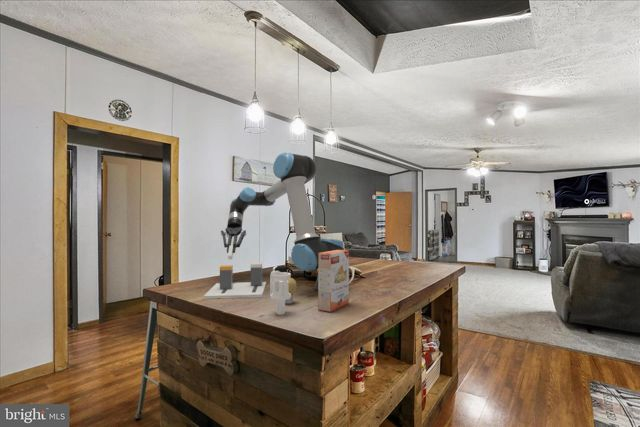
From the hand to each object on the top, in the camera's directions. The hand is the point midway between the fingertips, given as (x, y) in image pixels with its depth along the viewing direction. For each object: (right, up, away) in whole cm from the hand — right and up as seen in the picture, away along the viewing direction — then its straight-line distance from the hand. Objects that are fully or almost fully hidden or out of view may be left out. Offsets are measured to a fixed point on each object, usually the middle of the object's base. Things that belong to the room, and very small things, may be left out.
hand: (230, 257), depth 161 cm
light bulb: (+31, -14, -31) cm, 46 cm away
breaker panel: (+6, -14, -10) cm, 18 cm away
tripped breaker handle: (+1, -12, -10) cm, 16 cm away
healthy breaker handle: (+13, -12, -3) cm, 19 cm away
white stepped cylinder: (+30, -14, -44) cm, 55 cm away
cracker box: (+49, -14, -37) cm, 63 cm away
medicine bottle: (+26, -14, -15) cm, 33 cm away
